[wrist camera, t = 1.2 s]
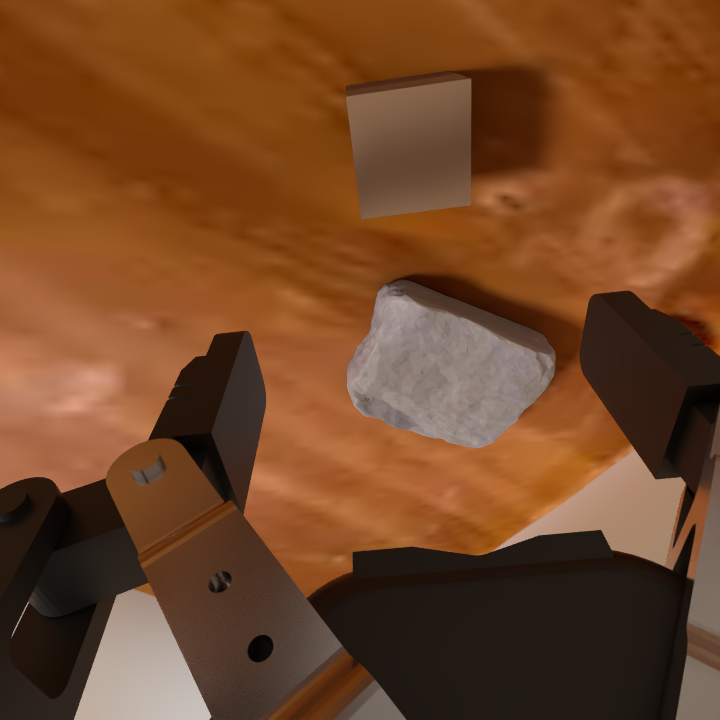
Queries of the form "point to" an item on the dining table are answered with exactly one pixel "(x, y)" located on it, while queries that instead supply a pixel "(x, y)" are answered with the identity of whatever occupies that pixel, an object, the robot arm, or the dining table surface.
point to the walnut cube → (411, 143)
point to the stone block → (446, 366)
